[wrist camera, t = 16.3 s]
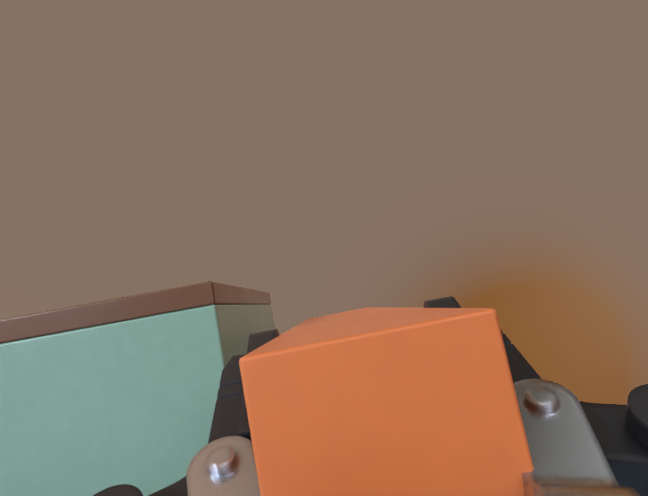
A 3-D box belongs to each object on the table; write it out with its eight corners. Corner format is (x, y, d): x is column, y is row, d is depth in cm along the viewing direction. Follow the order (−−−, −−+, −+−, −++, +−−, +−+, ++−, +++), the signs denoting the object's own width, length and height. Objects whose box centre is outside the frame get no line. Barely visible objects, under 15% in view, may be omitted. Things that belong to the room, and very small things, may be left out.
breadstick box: (568, 589, 6) (500, 306, 7) (280, 648, 6) (234, 358, 7) (382, 370, 28) (369, 306, 29) (318, 382, 28) (306, 319, 29)
